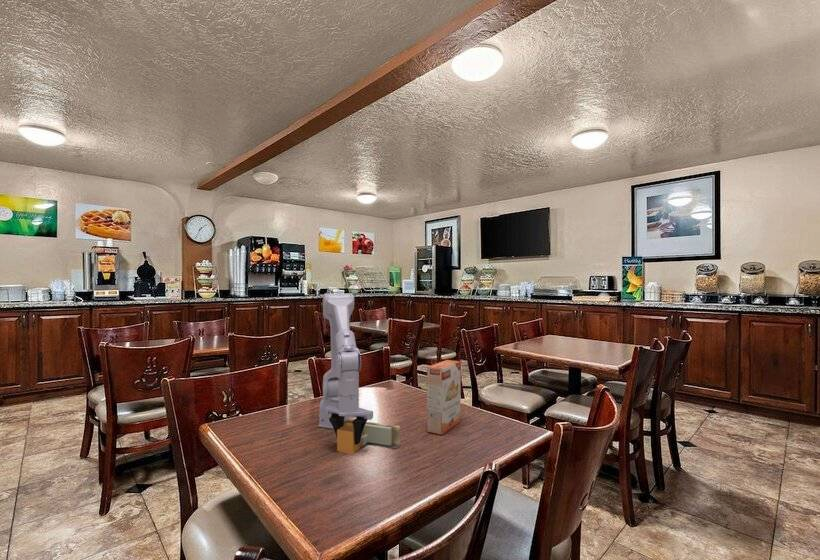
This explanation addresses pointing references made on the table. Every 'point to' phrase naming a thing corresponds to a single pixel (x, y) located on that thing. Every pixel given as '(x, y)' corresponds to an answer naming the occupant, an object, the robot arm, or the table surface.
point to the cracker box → (443, 396)
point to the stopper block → (347, 439)
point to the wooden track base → (395, 434)
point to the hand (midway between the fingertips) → (348, 441)
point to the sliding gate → (376, 435)
